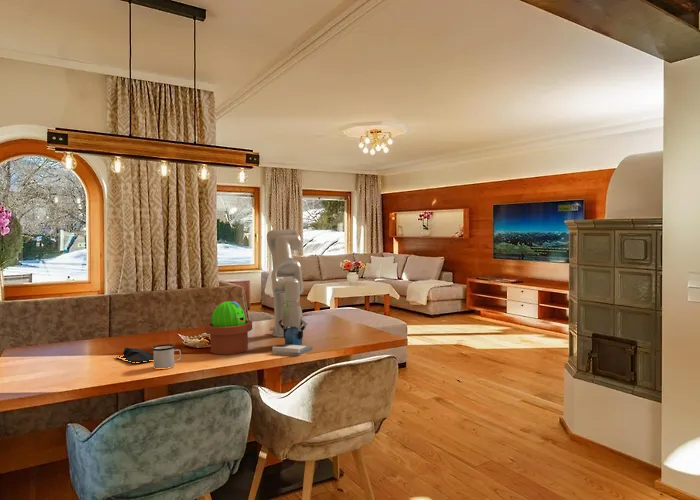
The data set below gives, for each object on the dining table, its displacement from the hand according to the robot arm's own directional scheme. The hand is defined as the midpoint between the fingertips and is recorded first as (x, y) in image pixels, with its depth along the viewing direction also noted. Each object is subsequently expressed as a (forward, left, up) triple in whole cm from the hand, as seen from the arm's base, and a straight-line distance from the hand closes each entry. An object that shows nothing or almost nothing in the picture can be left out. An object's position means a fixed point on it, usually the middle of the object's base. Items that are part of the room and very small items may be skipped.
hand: (293, 338), depth 242 cm
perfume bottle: (0, 0, -4) cm, 4 cm away
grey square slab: (+7, -13, -3) cm, 15 cm away
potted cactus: (-24, -21, -4) cm, 32 cm away
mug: (-32, -54, -4) cm, 63 cm away
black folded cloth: (-55, -47, -4) cm, 73 cm away
